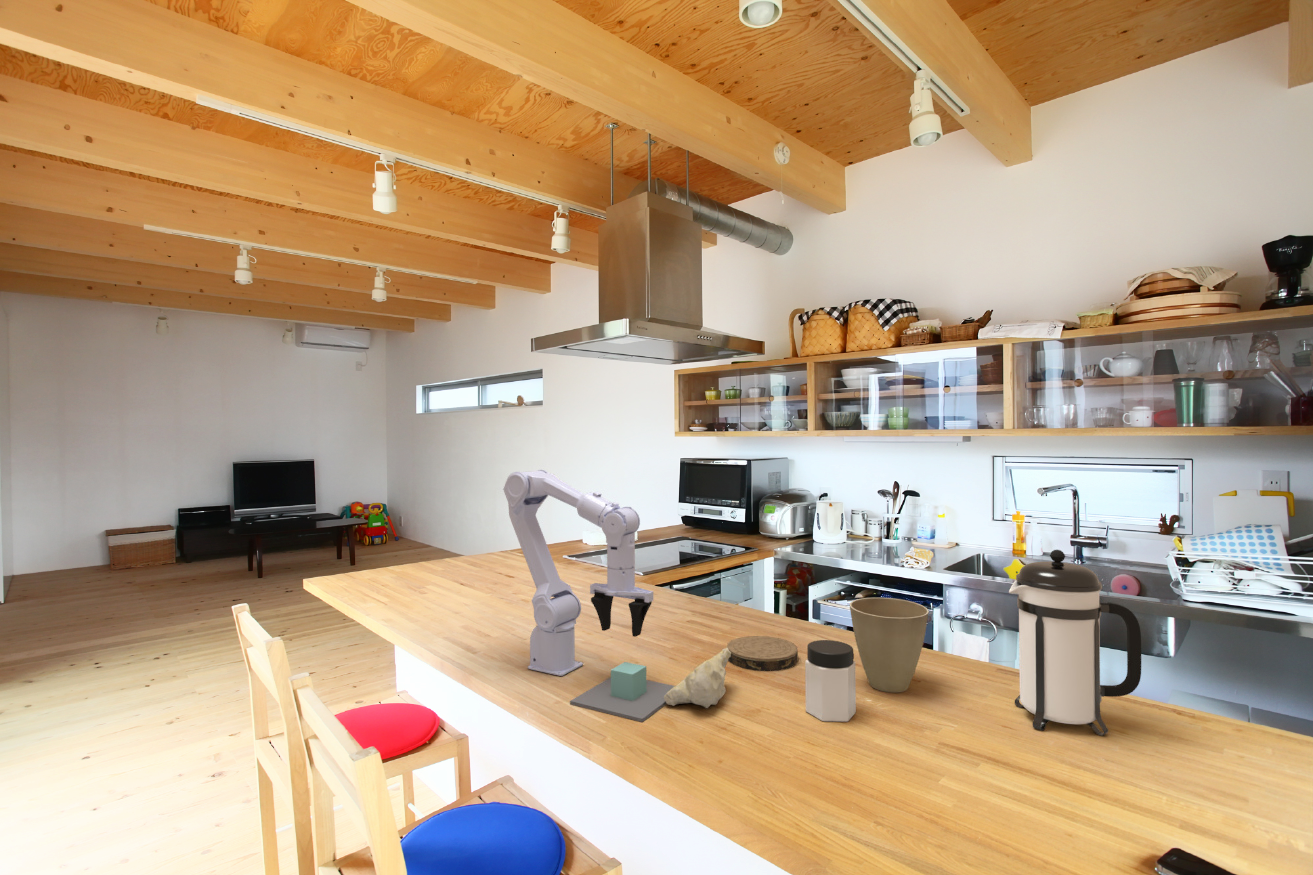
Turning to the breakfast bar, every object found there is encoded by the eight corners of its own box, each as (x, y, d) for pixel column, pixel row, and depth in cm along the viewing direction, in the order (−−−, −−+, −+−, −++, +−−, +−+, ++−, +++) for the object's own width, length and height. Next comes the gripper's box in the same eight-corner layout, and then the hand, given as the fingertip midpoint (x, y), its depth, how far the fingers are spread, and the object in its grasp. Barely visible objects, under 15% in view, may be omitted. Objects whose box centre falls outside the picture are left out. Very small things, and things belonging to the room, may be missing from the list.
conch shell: (684, 734, 113) (748, 677, 114) (658, 699, 115) (721, 643, 117) (692, 723, 127) (749, 673, 129) (669, 692, 130) (725, 643, 131)
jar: (865, 717, 114) (865, 650, 114) (830, 726, 111) (829, 657, 111) (831, 699, 122) (830, 636, 122) (797, 707, 119) (796, 642, 119)
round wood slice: (778, 678, 134) (778, 663, 134) (713, 662, 144) (713, 649, 144) (809, 657, 147) (809, 644, 147) (748, 644, 156) (748, 631, 156)
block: (611, 695, 123) (610, 669, 123) (625, 686, 128) (624, 661, 128) (632, 700, 121) (632, 674, 121) (646, 691, 125) (646, 666, 125)
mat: (570, 704, 121) (570, 700, 121) (616, 676, 135) (616, 673, 135) (642, 722, 113) (642, 718, 113) (684, 690, 127) (684, 687, 127)
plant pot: (837, 687, 128) (836, 607, 128) (869, 667, 139) (868, 593, 139) (911, 708, 118) (911, 621, 118) (940, 684, 129) (939, 605, 129)
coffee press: (1085, 750, 102) (1084, 561, 102) (992, 712, 116) (991, 547, 116) (1144, 726, 110) (1142, 552, 110) (1050, 694, 124) (1048, 539, 124)
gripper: (581, 566, 132) (581, 631, 133) (640, 574, 125) (640, 643, 125) (601, 560, 139) (601, 623, 139) (658, 567, 131) (658, 633, 131)
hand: (621, 632), depth 132 cm, fingers open, 7 cm apart
